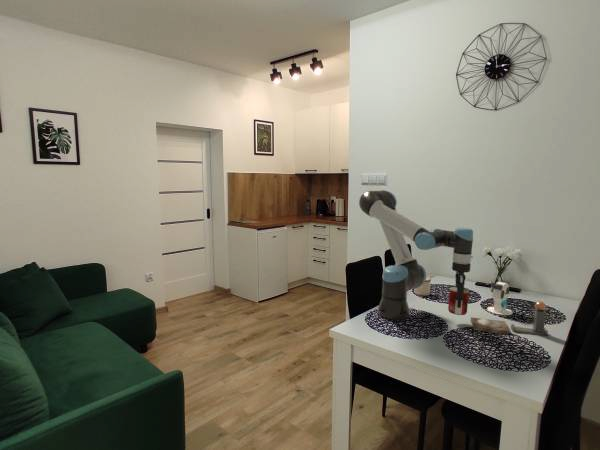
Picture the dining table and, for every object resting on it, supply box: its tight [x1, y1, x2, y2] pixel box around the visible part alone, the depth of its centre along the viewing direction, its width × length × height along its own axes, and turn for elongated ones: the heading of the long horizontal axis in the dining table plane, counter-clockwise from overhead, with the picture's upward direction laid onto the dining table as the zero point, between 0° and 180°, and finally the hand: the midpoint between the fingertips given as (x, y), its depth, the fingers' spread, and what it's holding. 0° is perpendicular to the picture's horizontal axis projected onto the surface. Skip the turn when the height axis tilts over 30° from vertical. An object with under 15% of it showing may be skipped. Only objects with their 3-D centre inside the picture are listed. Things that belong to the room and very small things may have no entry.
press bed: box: [470, 316, 511, 335], centre depth 165 cm, size 14×12×2 cm
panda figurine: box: [486, 279, 513, 316], centre depth 185 cm, size 12×11×15 cm
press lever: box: [532, 301, 547, 333], centre depth 158 cm, size 4×4×13 cm
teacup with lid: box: [413, 275, 432, 296], centre depth 215 cm, size 12×9×12 cm
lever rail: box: [510, 323, 549, 337], centre depth 160 cm, size 13×4×2 cm, turn 71°
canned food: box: [447, 286, 470, 316], centre depth 169 cm, size 8×8×11 cm
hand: (457, 310), depth 170 cm, fingers closed on canned food, 8 cm apart
